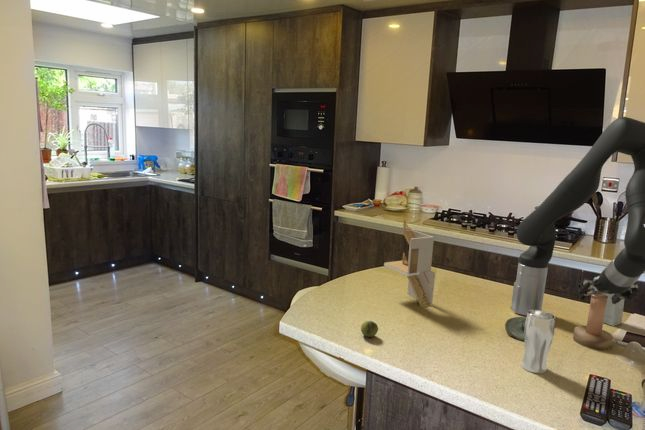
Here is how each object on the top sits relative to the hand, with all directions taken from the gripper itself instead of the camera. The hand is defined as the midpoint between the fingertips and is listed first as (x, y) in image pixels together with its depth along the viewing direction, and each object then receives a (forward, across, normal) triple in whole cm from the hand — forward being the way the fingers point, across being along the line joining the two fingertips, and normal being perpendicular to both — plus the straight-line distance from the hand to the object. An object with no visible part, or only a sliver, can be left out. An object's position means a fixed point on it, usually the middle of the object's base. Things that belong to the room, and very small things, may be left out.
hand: (597, 299), depth 137 cm
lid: (+8, +20, +11) cm, 24 cm away
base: (+9, 0, +10) cm, 13 cm away
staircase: (+22, +55, -2) cm, 59 cm away
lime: (-2, +66, +22) cm, 70 cm away
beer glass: (-7, +22, +26) cm, 35 cm away
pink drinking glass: (+6, 0, +8) cm, 10 cm away
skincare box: (+23, -11, -4) cm, 26 cm away
